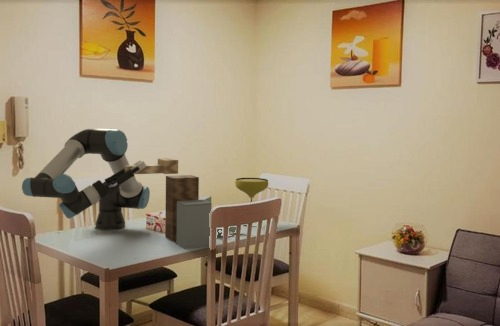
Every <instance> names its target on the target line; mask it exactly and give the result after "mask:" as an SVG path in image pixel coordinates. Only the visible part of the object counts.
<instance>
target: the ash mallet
mask: <svg viewBox="0 0 500 326" xmlns="http://www.w3.org/2000/svg"><path fill="white" fill-rule="evenodd" d="M145 165H146V167H145V168H143V169H142V170H140V171H138V172H137V173H135V174H134V175H153V174H154V175H155V174H156V175H157V174H163V175H174V174H175V175H178V174H179V159H176V158H171V157H169V158H168V157H165V158H162V157H159V158H157V164H145ZM134 166H136V165H133V164H131V165H130V164H129V165H128V166H125V172H127V171H129V170H131V168H132V167H134Z"/></svg>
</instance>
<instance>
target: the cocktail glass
mask: <svg viewBox="0 0 500 326" xmlns="http://www.w3.org/2000/svg"><path fill="white" fill-rule="evenodd" d="M234 182H235V183H234V184H235V187H236V188H237V189H238V190H240V191H241V192H243V193H244V194H246V195H247V196H248V197H249V198H250V203H251V202H252V203H253V198H255V196H256V195H257V194H260V193H261V192H263V191H265V190H266V189H267V188H268V187H269V180H268V179H267V178H259V177H239V178H236V179H235V181H234Z"/></svg>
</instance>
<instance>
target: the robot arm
mask: <svg viewBox="0 0 500 326" xmlns="http://www.w3.org/2000/svg"><path fill="white" fill-rule="evenodd" d="M127 150H128V138H127V136H126V134H125V132H123V131H122V130H120V129H116V128H86V129H83V130H81V131H79V132H77V133H75V134H73V135H72V136H71V137H70V138H68V139H67V141H65V143H64V145H63V148H62V149H61V150H60V151H58V153H57V154H56V155H55V156H54V157H53V158H52V159H51V160H50V161H49V162H48V163H47V164H46V165H45V166H44V167H43V168H42V170H40V172H38V174H36V175H35V177H26V178H24V180H23V181H22V184H21V190H22V193H23V194H24V196H27V197H33V198H36V197H37V198H51V199H52V198H55V199H60V200H61V202H60V203H59V204H58V207H59V209H60V210H61V212H62V213H63V215H64V217H65V218H67V219H72V218H74V217H76V216H77V215H79V214H81V213H83V212H84V211H85V210H87V209H88V208H90V207H92V206H93V205H94V206H95V205H97V203H98V215H97V218H96V220H95V228H96V229H99V230H118V229H123V228H125V227H126V221H125V218H124V214H123V209H136V210H141V209H142V210H144V209H146V208H147V206H148V204H149V201H150V197H151V196H150V192H151V191H150V188H149V186H144V185H143V184H142V182H141V181H140V180H138V179H137V178H136V176H135V175H136V174H135V173H137V172H138V171H140V170H142V169H143V168H145V167H146V165H147V164H146V163H145V161H144V160H142V161H141V159H139V160H138V161H136V162H134V163H133V164H132V165H136V166H134V167H132V168H131V170H129V171H127V172H125V166H128V165H130V163H129V161H128V159H127V157H126V152H127ZM89 154H91V155H99V156H101V158H102V160H103V161H104V162H106V163H108V165H109V167H110V169H111V171H112V173H113V174H112V175H111V176H109V177H107V178H104V181H103V182H102V181H101V180H99V179H98V180H96V181H95V182H93V183H92V185H88V186H86V187H85V188H83V189H81V190H80V191H79V189H78V186H77V185H76V182H75V181H74V180H73V178H72V176H70V175H69V174H67V173H66V172H67V171H68V169H70V167H72V165H73V164H74V163H75V162H76V161H77V160H78V159H81V158H83V156H85V155H89Z"/></svg>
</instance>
